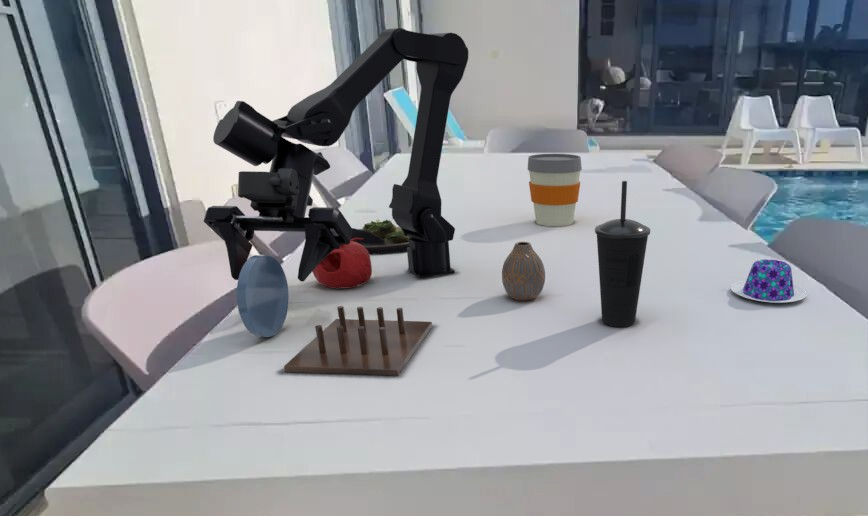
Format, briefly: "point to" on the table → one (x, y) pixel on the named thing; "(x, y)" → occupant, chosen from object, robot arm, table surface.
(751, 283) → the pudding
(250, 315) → the plate
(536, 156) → the reusable coffee cup
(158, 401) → the table surface
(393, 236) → the salad plate
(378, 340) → the rack
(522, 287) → the vase
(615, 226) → the drinking cup
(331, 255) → the pomegranate
